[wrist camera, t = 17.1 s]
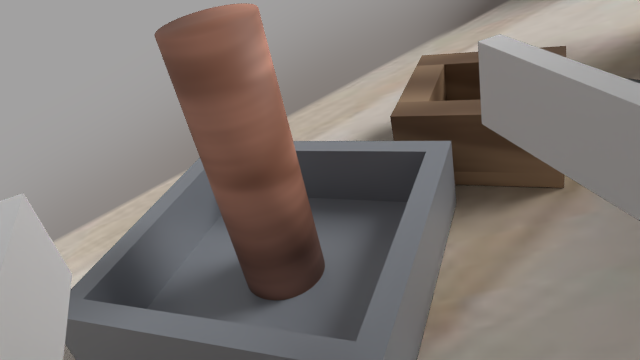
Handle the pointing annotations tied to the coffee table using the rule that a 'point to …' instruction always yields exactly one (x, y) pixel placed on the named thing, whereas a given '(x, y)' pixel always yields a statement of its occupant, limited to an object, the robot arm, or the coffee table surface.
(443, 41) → the coffee table surface
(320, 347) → the tray
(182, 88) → the dowel
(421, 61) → the socket block
